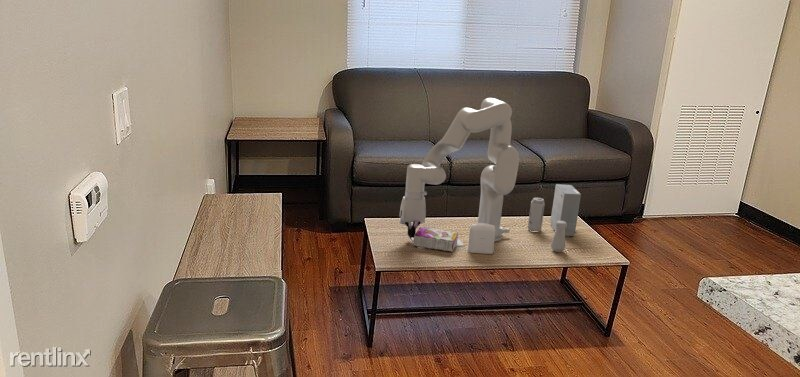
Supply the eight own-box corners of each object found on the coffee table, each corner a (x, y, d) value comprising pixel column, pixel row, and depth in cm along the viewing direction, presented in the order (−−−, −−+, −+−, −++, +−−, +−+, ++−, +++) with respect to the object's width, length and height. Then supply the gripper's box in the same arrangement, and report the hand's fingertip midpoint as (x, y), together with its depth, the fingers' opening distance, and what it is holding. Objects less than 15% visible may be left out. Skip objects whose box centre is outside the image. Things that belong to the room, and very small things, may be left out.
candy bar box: (420, 225, 240) (458, 231, 236) (419, 236, 241) (457, 243, 237) (413, 234, 229) (454, 241, 225) (413, 246, 231) (452, 252, 227)
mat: (451, 232, 249) (451, 231, 249) (464, 245, 235) (464, 245, 235) (408, 234, 243) (408, 234, 243) (418, 248, 229) (418, 248, 229)
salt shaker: (547, 249, 237) (551, 219, 233) (558, 247, 239) (562, 218, 235) (556, 254, 232) (560, 224, 228) (567, 252, 234) (572, 223, 230)
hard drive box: (574, 237, 252) (581, 194, 246) (557, 236, 252) (564, 193, 246) (565, 225, 266) (571, 184, 261) (549, 224, 266) (555, 183, 260)
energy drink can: (527, 227, 260) (531, 196, 256) (540, 228, 259) (545, 197, 255) (527, 231, 255) (531, 200, 250) (541, 233, 254) (545, 201, 249)
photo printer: (468, 253, 228) (471, 224, 224) (467, 249, 232) (470, 220, 228) (493, 255, 228) (497, 226, 224) (492, 250, 232) (495, 222, 228)
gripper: (428, 191, 236) (425, 232, 241) (394, 192, 232) (391, 234, 237) (434, 197, 229) (431, 239, 235) (399, 197, 225) (396, 240, 230)
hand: (411, 236), depth 236 cm, fingers closed
